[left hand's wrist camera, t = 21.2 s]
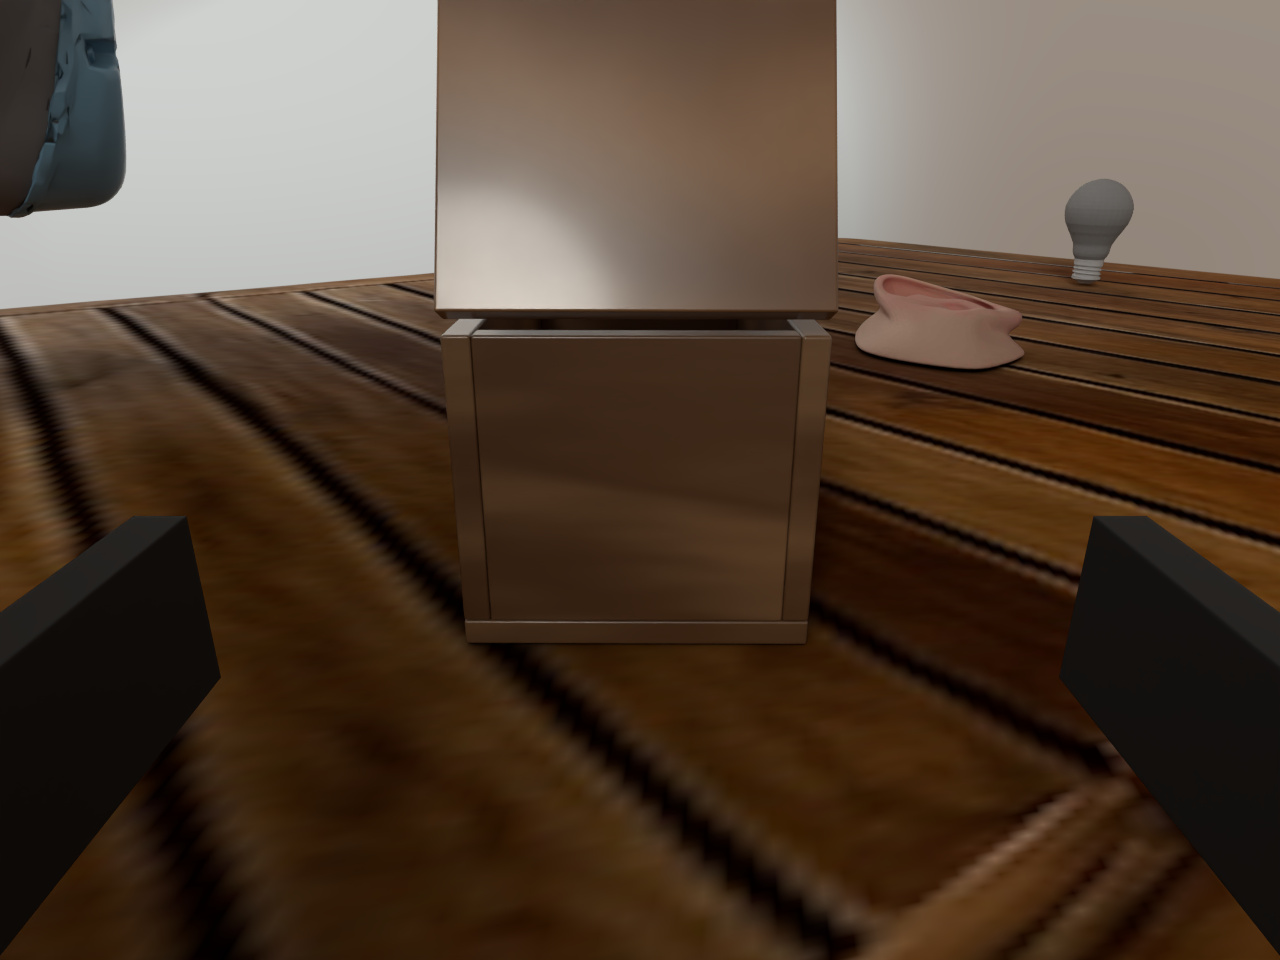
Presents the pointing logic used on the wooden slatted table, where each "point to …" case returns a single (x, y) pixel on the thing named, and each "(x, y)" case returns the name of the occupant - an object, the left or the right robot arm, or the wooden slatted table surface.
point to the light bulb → (1096, 224)
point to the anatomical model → (938, 326)
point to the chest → (636, 477)
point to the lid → (636, 159)
